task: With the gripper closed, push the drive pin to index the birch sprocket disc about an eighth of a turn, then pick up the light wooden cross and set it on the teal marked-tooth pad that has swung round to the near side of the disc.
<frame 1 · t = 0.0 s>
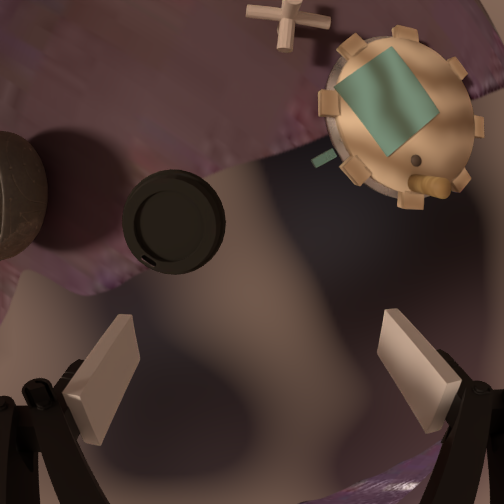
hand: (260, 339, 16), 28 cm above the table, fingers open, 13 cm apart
sprocket base: (404, 115, 39), on the table
light wooden cross: (283, 31, 36), on the table
coffee cup: (194, 204, 42), on the table
bowl 2: (23, 189, 40), on the table
sprocket: (424, 110, 33), point 6 cm above the table, hinge at 0.0°
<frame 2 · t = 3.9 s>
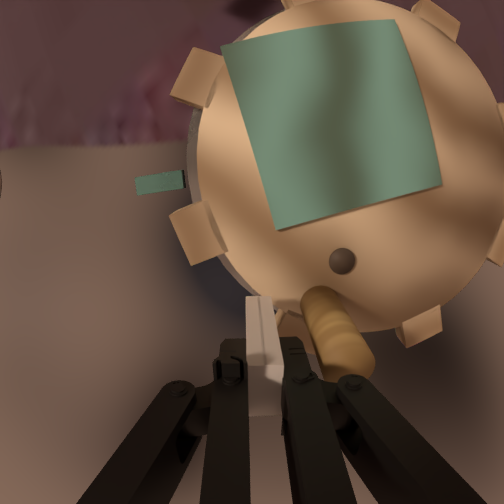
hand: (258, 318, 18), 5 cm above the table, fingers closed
sprocket base: (368, 162, 21), on the table
sprocket: (406, 164, 15), point 6 cm above the table, hinge at 0.4°, touching gripper
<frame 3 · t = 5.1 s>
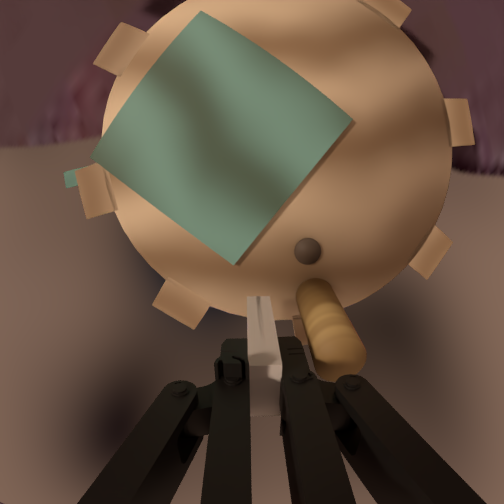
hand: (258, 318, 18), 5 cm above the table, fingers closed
sprocket: (292, 139, 15), point 6 cm above the table, hinge at 35.5°, touching gripper
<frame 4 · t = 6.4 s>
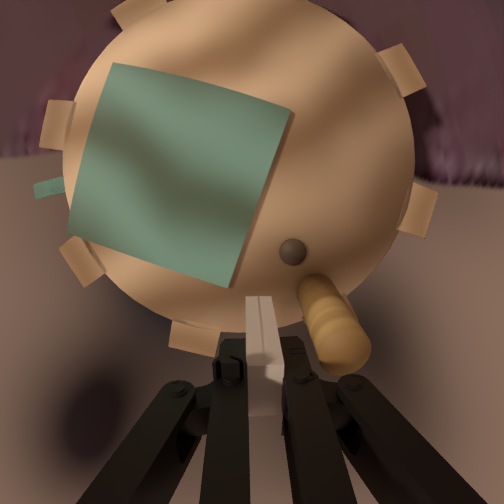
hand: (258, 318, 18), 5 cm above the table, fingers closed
sprocket base: (237, 156, 21), on the table
sprocket: (233, 154, 15), point 6 cm above the table, hinge at 55.4°, touching gripper
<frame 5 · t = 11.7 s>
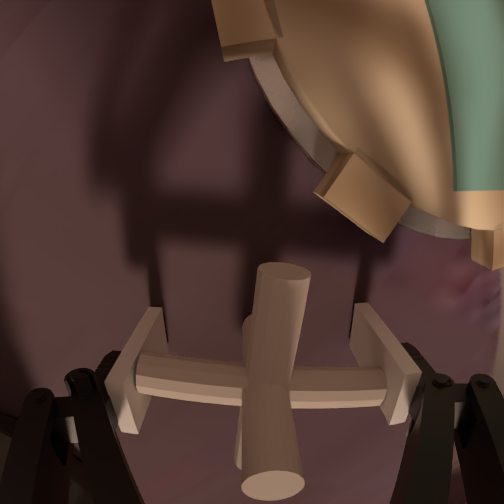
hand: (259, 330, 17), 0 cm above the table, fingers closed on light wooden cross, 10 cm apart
sprocket base: (447, 34, 13), on the table
light wooden cross: (259, 325, 17), on the table, touching gripper
when the fingers open (5 cm above the table, at t = 16.9 s): light wooden cross drops 1 cm, resting on sprocket.
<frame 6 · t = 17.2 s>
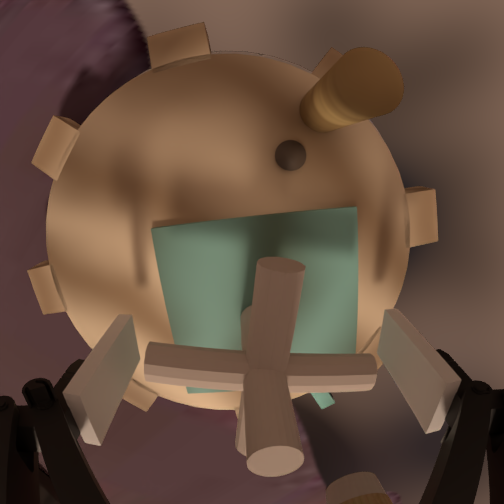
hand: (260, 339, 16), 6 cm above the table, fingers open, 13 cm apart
sprocket base: (224, 242, 21), on the table
light wooden cross: (256, 317, 18), point 3 cm above the table, touching sprocket
coffee cup: (351, 484, 29), on the table
sprocket: (217, 272, 15), point 6 cm above the table, hinge at 55.4°, touching light wooden cross
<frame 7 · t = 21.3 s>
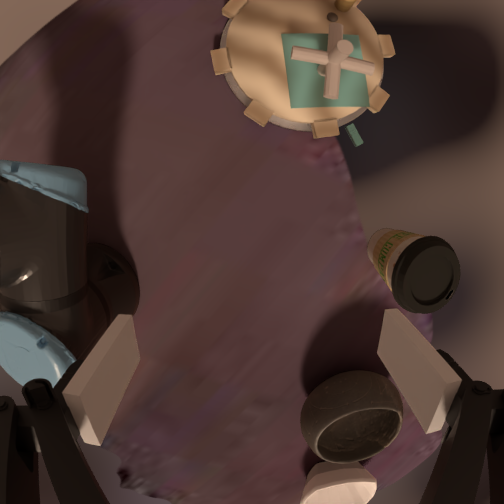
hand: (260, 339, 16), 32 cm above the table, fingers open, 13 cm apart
sprocket base: (304, 53, 40), on the table
light wooden cross: (323, 70, 37), point 3 cm above the table, touching sprocket
coffee cup: (384, 247, 48), on the table
bowl 2: (342, 391, 56), on the table
bowl: (331, 471, 63), on the table
sprocket: (312, 40, 34), point 6 cm above the table, hinge at 55.4°, touching light wooden cross
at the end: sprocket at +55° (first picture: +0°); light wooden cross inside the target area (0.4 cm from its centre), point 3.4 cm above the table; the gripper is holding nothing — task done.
